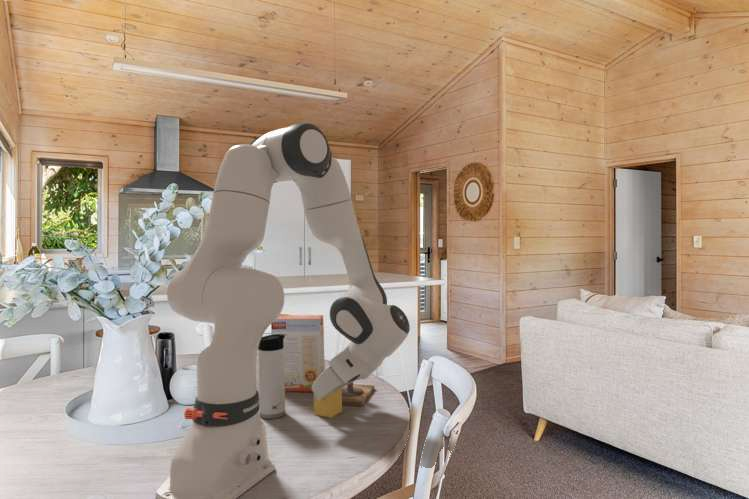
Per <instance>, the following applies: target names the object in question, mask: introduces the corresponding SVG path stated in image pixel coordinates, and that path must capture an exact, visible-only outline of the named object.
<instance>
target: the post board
mask: <svg viewBox="0 0 749 499" xmlns="http://www.w3.org/2000/svg"><path fill="white" fill-rule="evenodd" d="M374 390H375V384H374V385H371V384H357V383H356V384H355V383H354V382H352V383H350V384H348V385H346V386H344V387H342V406H354V407H355V406H356V407H358V406H359V407H362V406H363V405H364V403H365V402H366V401H367V399H368V398H369V397H370V395H372V393H373V391H374Z"/></svg>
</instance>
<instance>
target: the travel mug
mask: <svg viewBox="0 0 749 499" xmlns="http://www.w3.org/2000/svg"><path fill="white" fill-rule="evenodd" d="M283 338H285V335H284V334H275V335H271V334H269V335H263V336H262V338H261V340H260V343H259V347H258V351H257V366H258V368H257V369H258V370H257V374H258V393H259V399H260V403H259V411H258V415H259V417H260V418H262V419H266V420H275V419H278V418H282V417H283V416H284V415H285V414H286V391H285V378H284V345H283Z"/></svg>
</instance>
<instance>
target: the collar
mask: <svg viewBox="0 0 749 499" xmlns="http://www.w3.org/2000/svg"><path fill="white" fill-rule="evenodd" d="M313 408H314V409H313V415H316V416H322V417H324V418H325V417H326V418H329V419H331V418H333V417H334V416H337V415H338V414H339V413H342V412H343V405H342V388H341V389H339V390H337V391H335V392H333V393H331V394H330V395H328V396H326V397H325V398H324V399H322V400H321V401H318V400H317V398H316V397H315V394H314V393H313Z"/></svg>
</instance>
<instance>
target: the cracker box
mask: <svg viewBox="0 0 749 499" xmlns="http://www.w3.org/2000/svg"><path fill="white" fill-rule="evenodd" d="M324 324H325V323H324V315H323V314H316V315H315V314H309V315H307V314H301V315H300V314H291V315H289V314H287V315H286V314H283V315H281V314H280V315H279V316H278V318H277V319H276V320H275V321H274V322H273V323H272V324H270V325H271V326H270V327H271V329H270V330H271V334H270V335H275V334H284V335H285V338H283V345H284V378H285V392H307V393H309V392H310V393H311V392H312V393H314V392H313V391H312V389H311V388H312V385H313V383H314V382H315V381H316V379H317V378H318V377H319V376H320V375H321V373H322V372H323V371H324V370H325V369H326V368H325V367H326V366H325V333H324V332H325V330H324V329H325V327H324Z"/></svg>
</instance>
